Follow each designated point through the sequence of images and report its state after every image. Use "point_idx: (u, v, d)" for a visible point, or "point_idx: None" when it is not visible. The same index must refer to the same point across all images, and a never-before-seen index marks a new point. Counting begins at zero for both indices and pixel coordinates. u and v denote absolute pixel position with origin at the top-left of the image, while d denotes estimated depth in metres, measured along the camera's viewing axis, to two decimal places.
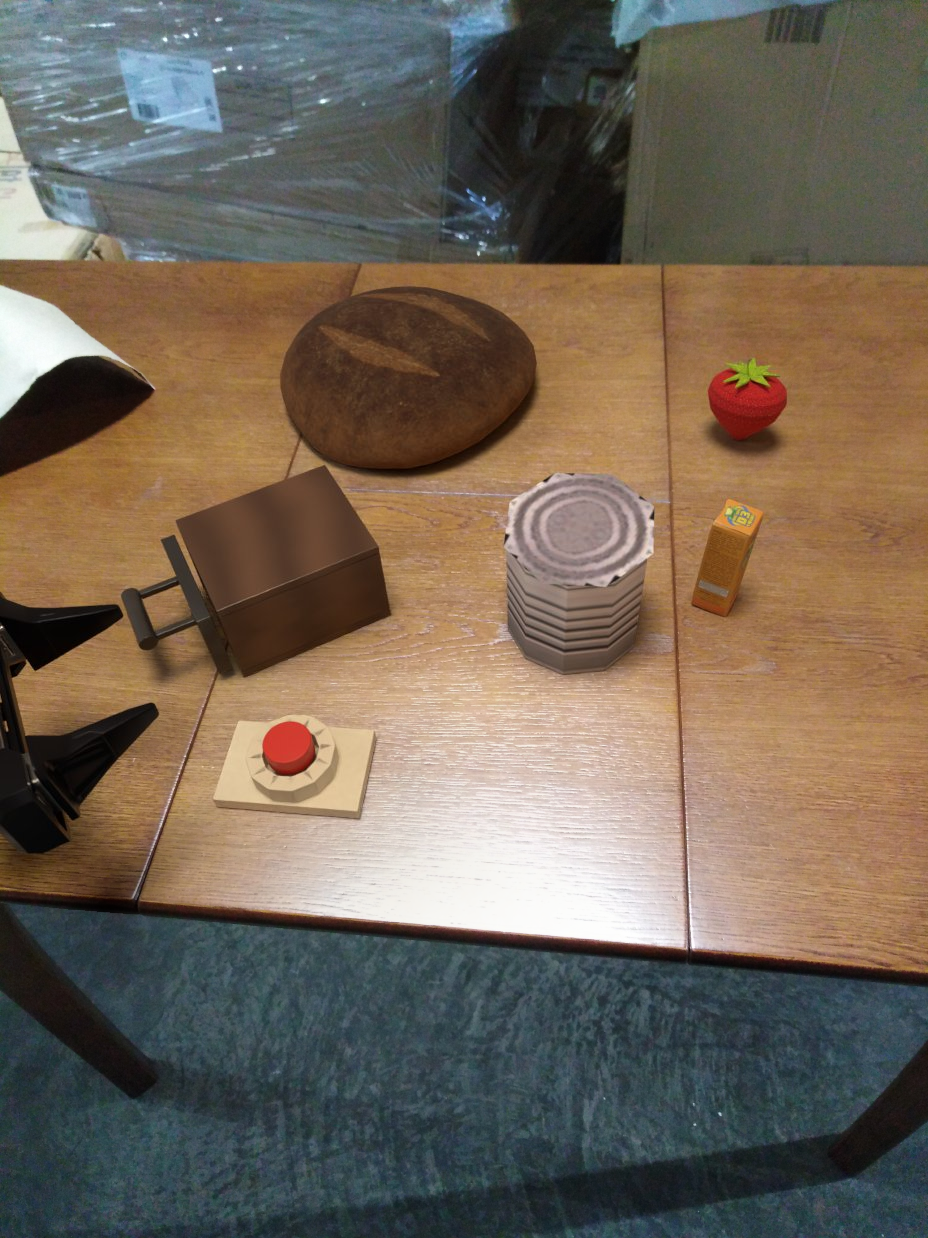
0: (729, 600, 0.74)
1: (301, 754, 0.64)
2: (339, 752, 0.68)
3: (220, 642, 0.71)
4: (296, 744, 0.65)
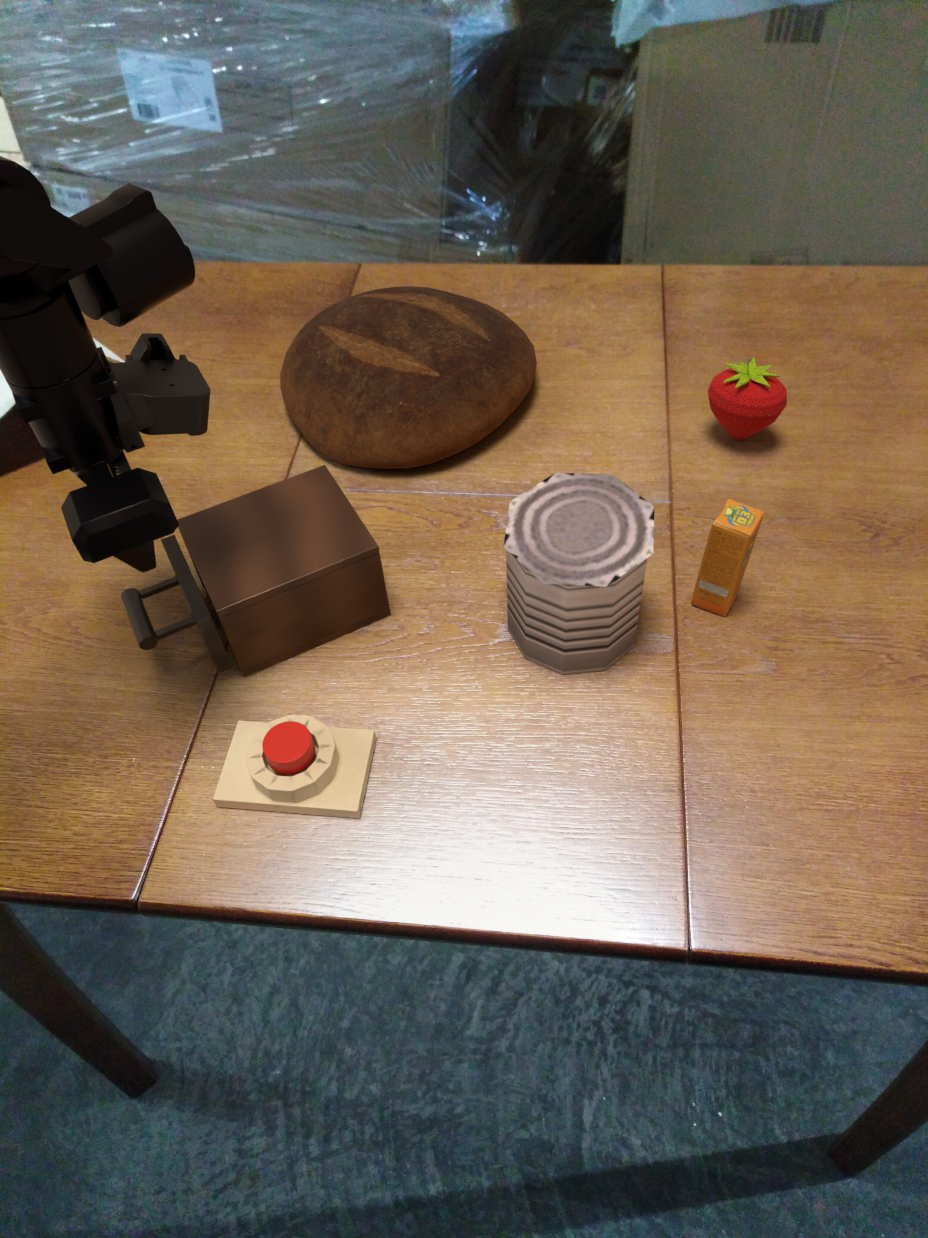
0: (729, 600, 0.74)
1: (301, 754, 0.64)
2: (339, 752, 0.68)
3: (220, 642, 0.71)
4: (296, 744, 0.65)
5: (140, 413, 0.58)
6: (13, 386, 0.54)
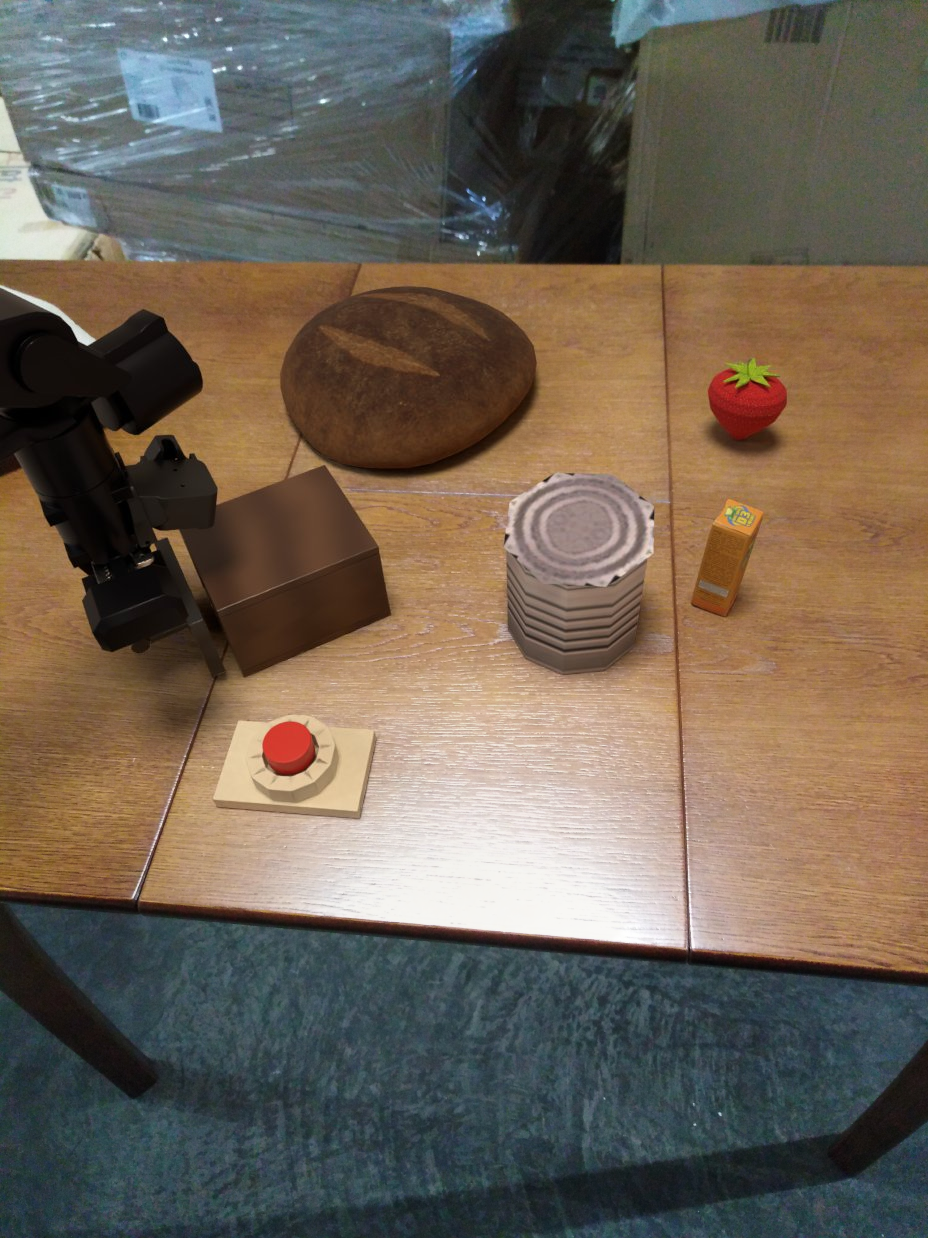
0: (729, 600, 0.74)
1: (301, 754, 0.64)
2: (339, 752, 0.68)
3: (213, 645, 0.71)
4: (296, 744, 0.65)
5: (154, 513, 0.63)
6: (40, 494, 0.59)
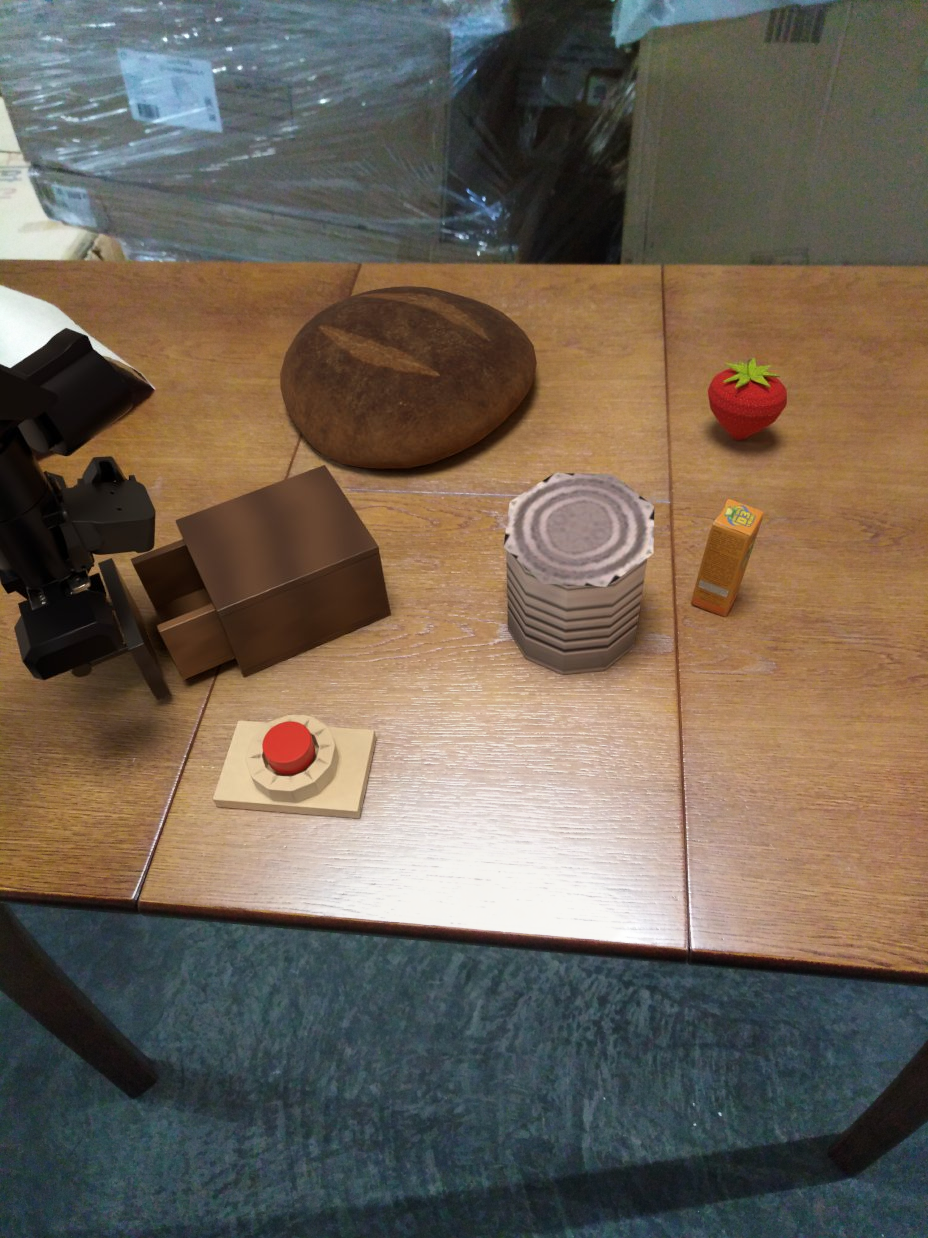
0: (729, 600, 0.74)
1: (301, 754, 0.64)
2: (339, 752, 0.68)
3: (155, 669, 0.70)
4: (296, 744, 0.65)
5: (89, 538, 0.62)
6: None
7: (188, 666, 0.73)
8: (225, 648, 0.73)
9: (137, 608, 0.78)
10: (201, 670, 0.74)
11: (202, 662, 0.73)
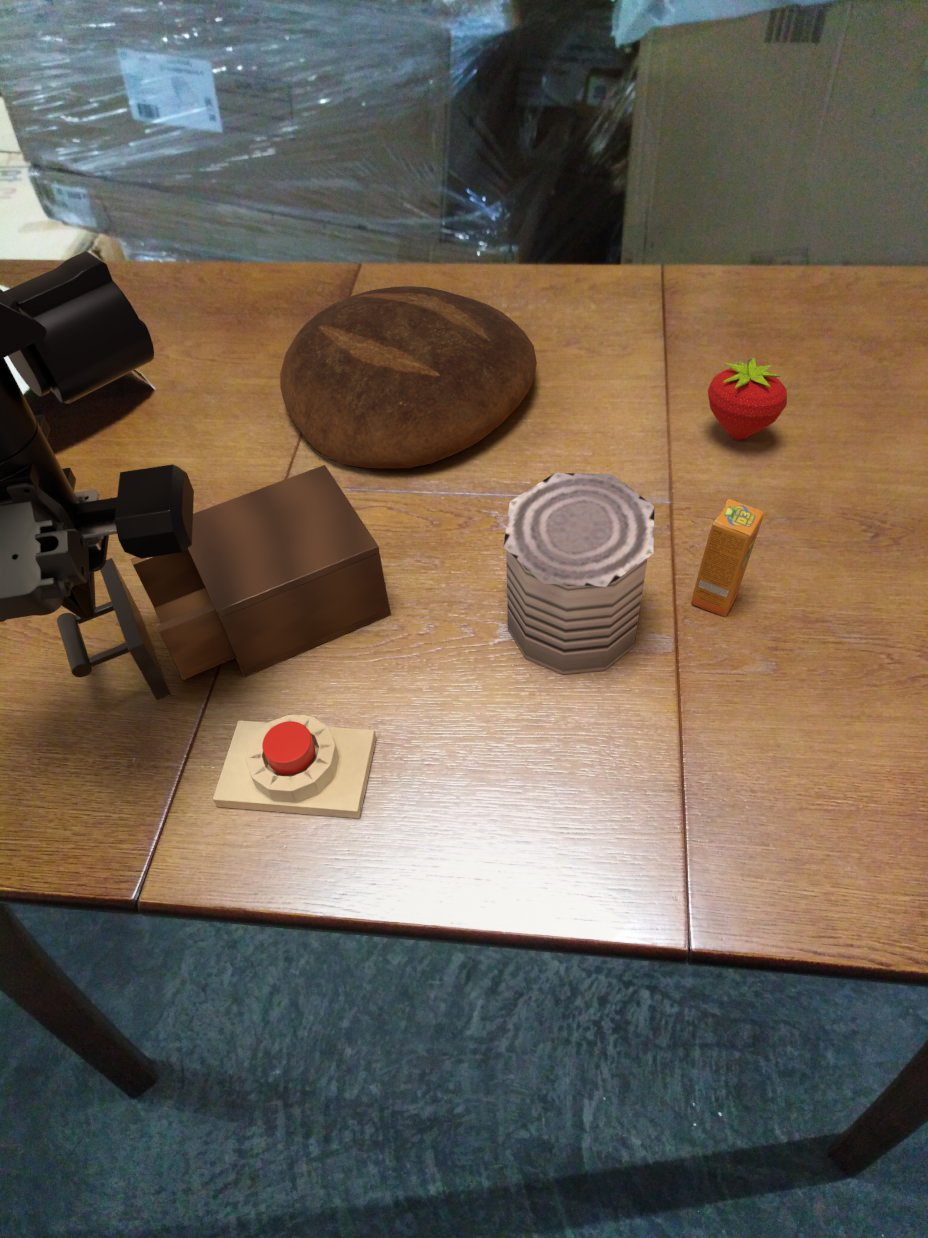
0: (729, 600, 0.74)
1: (301, 754, 0.64)
2: (339, 752, 0.68)
3: (155, 669, 0.70)
4: (296, 744, 0.65)
5: None
6: None
7: (188, 666, 0.73)
8: (225, 648, 0.73)
9: (137, 608, 0.78)
10: (201, 670, 0.74)
11: (202, 662, 0.73)
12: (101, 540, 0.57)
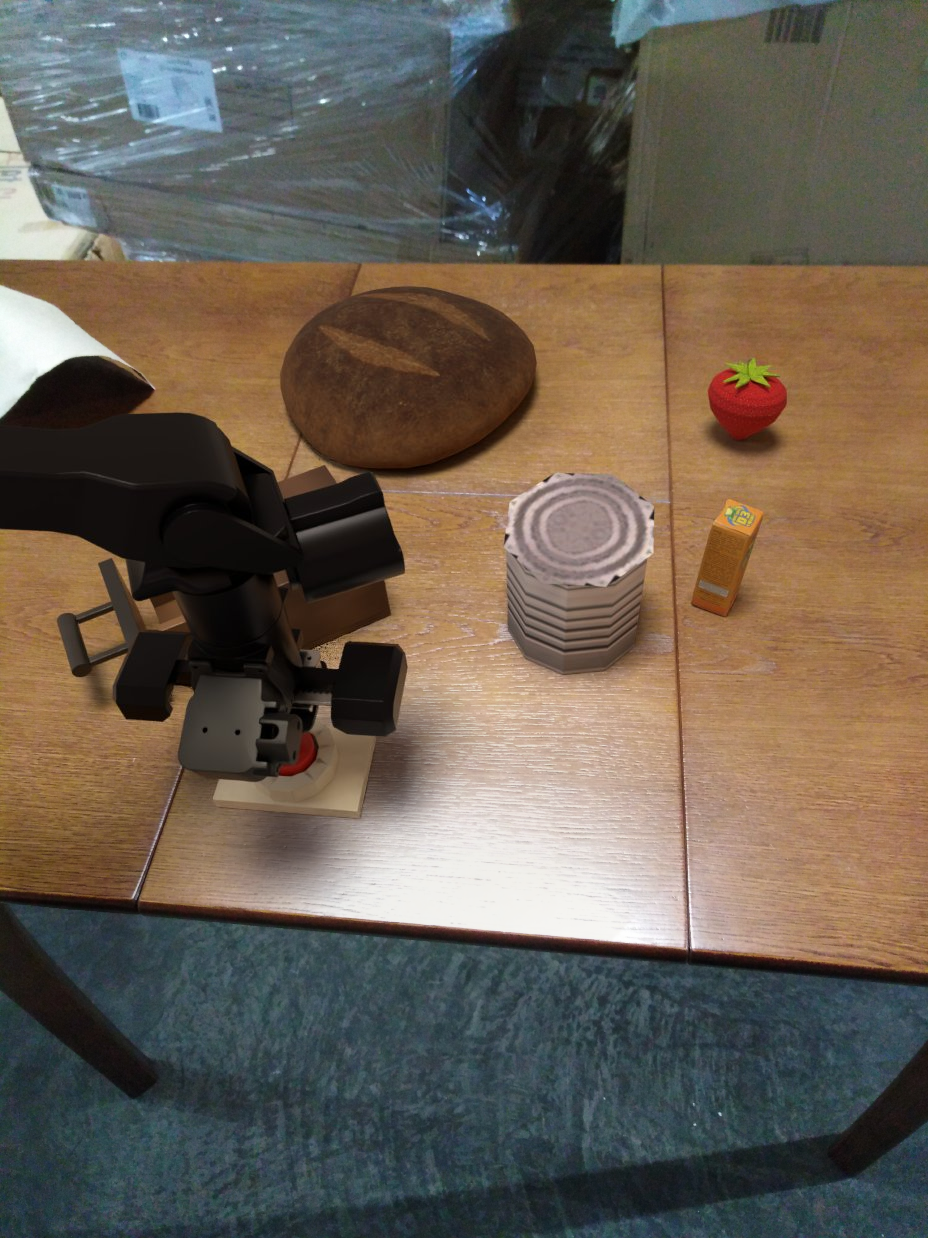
0: (729, 600, 0.74)
1: (303, 760, 0.65)
2: (339, 752, 0.68)
3: None
4: None
5: None
6: None
7: None
8: None
9: (137, 608, 0.78)
10: None
11: None
12: None
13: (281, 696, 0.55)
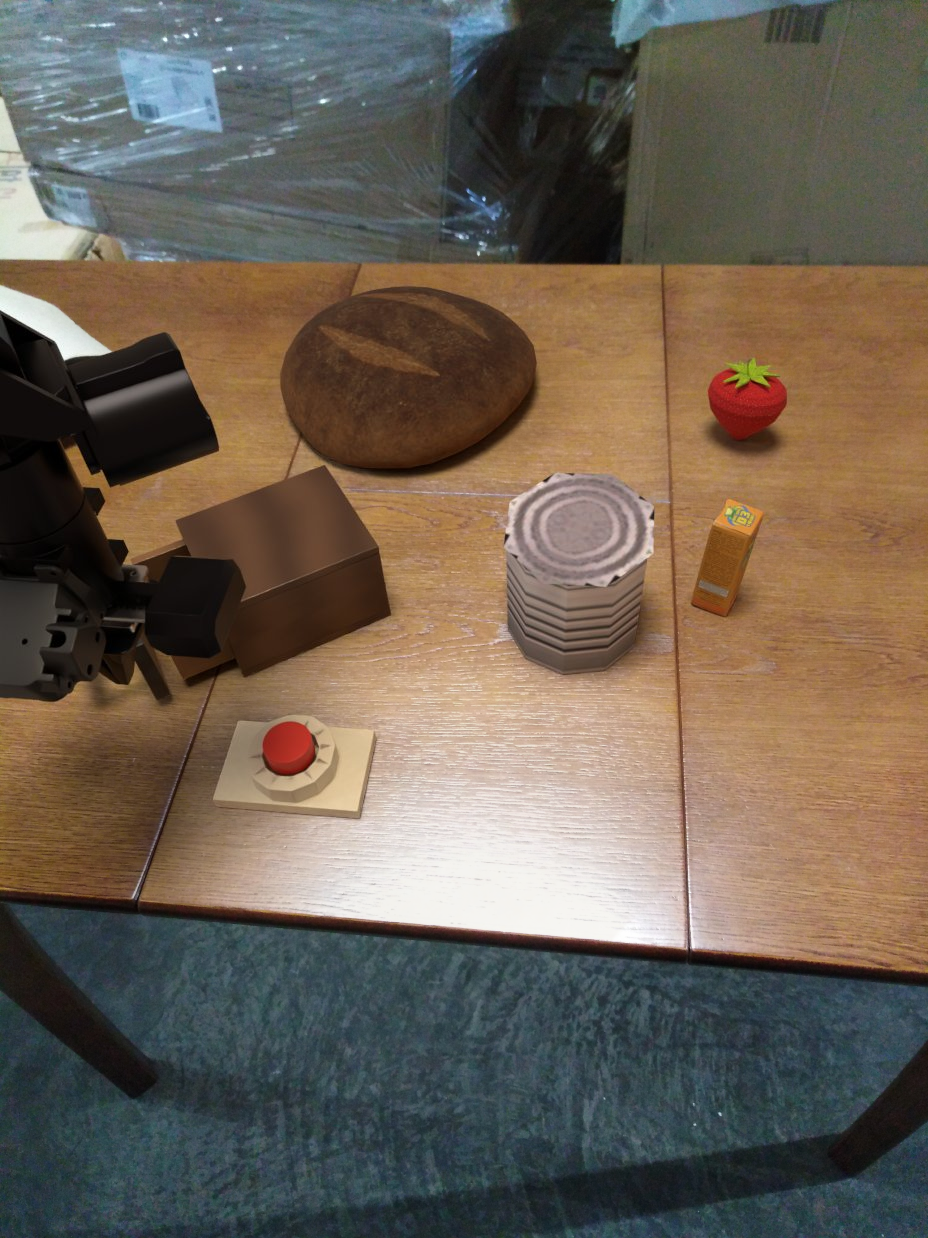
0: (729, 600, 0.74)
1: (301, 754, 0.64)
2: (339, 752, 0.68)
3: (155, 669, 0.70)
4: (296, 744, 0.65)
5: None
6: None
7: (188, 666, 0.73)
8: (225, 648, 0.73)
9: None
10: (201, 670, 0.74)
11: (202, 662, 0.73)
12: None
13: (84, 606, 0.49)
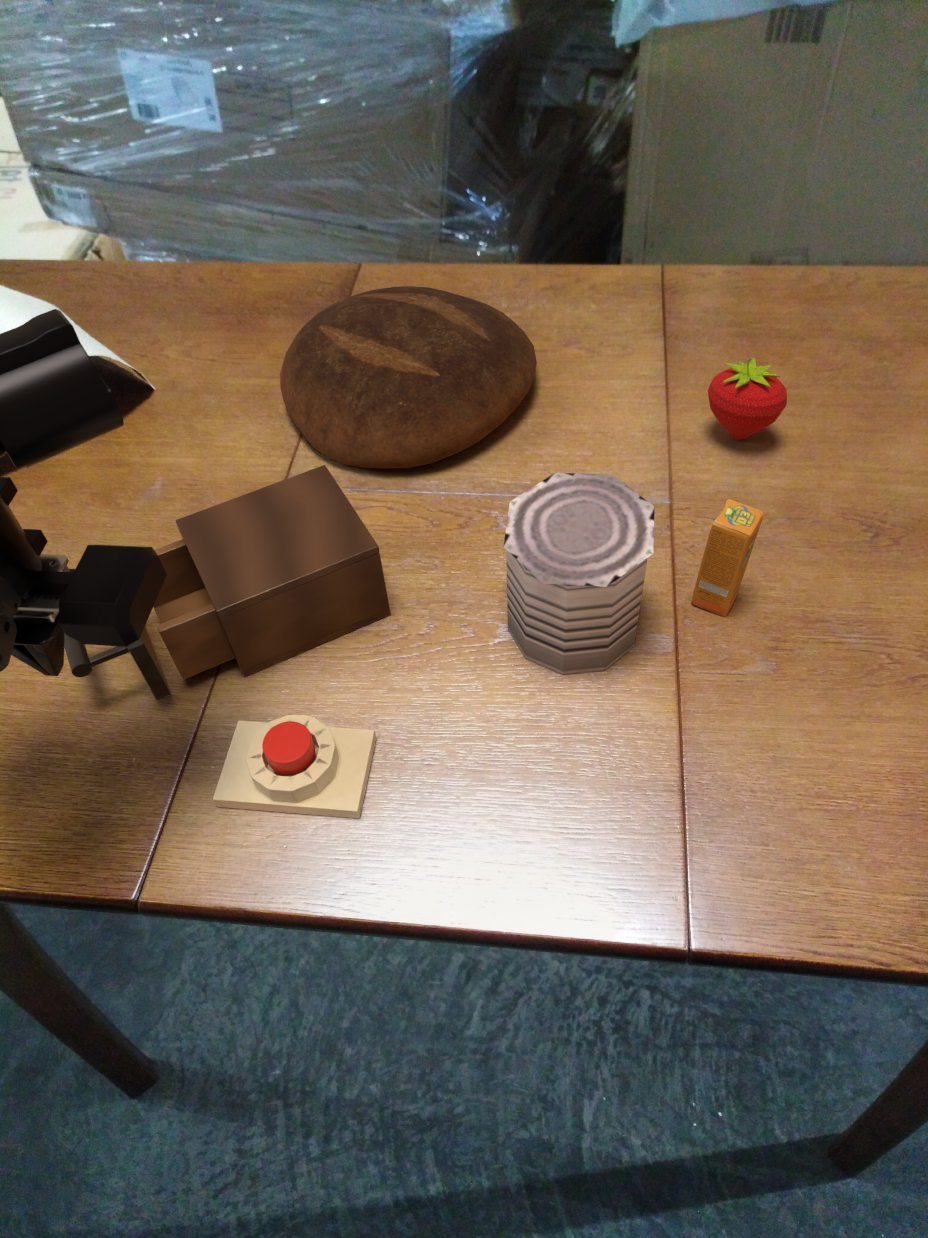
0: (729, 600, 0.74)
1: (301, 754, 0.64)
2: (339, 752, 0.68)
3: (155, 669, 0.70)
4: (296, 744, 0.65)
5: None
6: None
7: (188, 666, 0.73)
8: (225, 648, 0.73)
9: None
10: (201, 670, 0.74)
11: (202, 662, 0.73)
12: (57, 611, 0.53)
13: None
